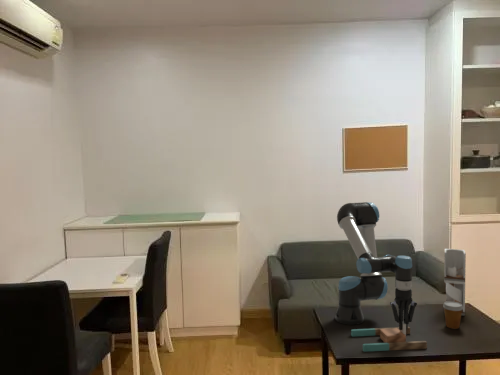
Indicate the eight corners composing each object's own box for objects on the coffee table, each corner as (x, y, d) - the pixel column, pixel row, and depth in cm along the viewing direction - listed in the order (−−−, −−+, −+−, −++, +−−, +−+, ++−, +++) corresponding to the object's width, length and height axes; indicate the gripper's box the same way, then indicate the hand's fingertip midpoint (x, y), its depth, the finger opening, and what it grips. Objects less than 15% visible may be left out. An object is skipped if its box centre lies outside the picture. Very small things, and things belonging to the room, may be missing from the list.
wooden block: (387, 345, 209) (387, 336, 209) (380, 338, 218) (380, 329, 218) (405, 344, 210) (405, 335, 210) (397, 337, 219) (397, 328, 219)
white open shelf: (443, 307, 261) (444, 248, 259) (463, 309, 257) (464, 249, 255) (444, 313, 251) (444, 252, 249) (464, 315, 247) (465, 253, 244)
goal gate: (363, 351, 203) (363, 345, 203) (351, 335, 222) (351, 329, 222) (389, 350, 204) (389, 344, 204) (374, 334, 223) (374, 328, 222)
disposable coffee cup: (461, 331, 225) (461, 308, 224) (441, 327, 230) (441, 305, 229) (463, 325, 233) (464, 302, 232) (444, 322, 238) (444, 300, 237)
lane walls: (389, 350, 204) (389, 344, 204) (374, 334, 223) (374, 328, 222) (426, 348, 205) (426, 342, 205) (408, 332, 224) (409, 326, 224)
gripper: (393, 291, 208) (393, 340, 210) (420, 290, 209) (419, 338, 211) (387, 286, 216) (387, 333, 217) (412, 285, 217) (412, 332, 218)
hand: (403, 336), depth 214 cm, fingers closed
